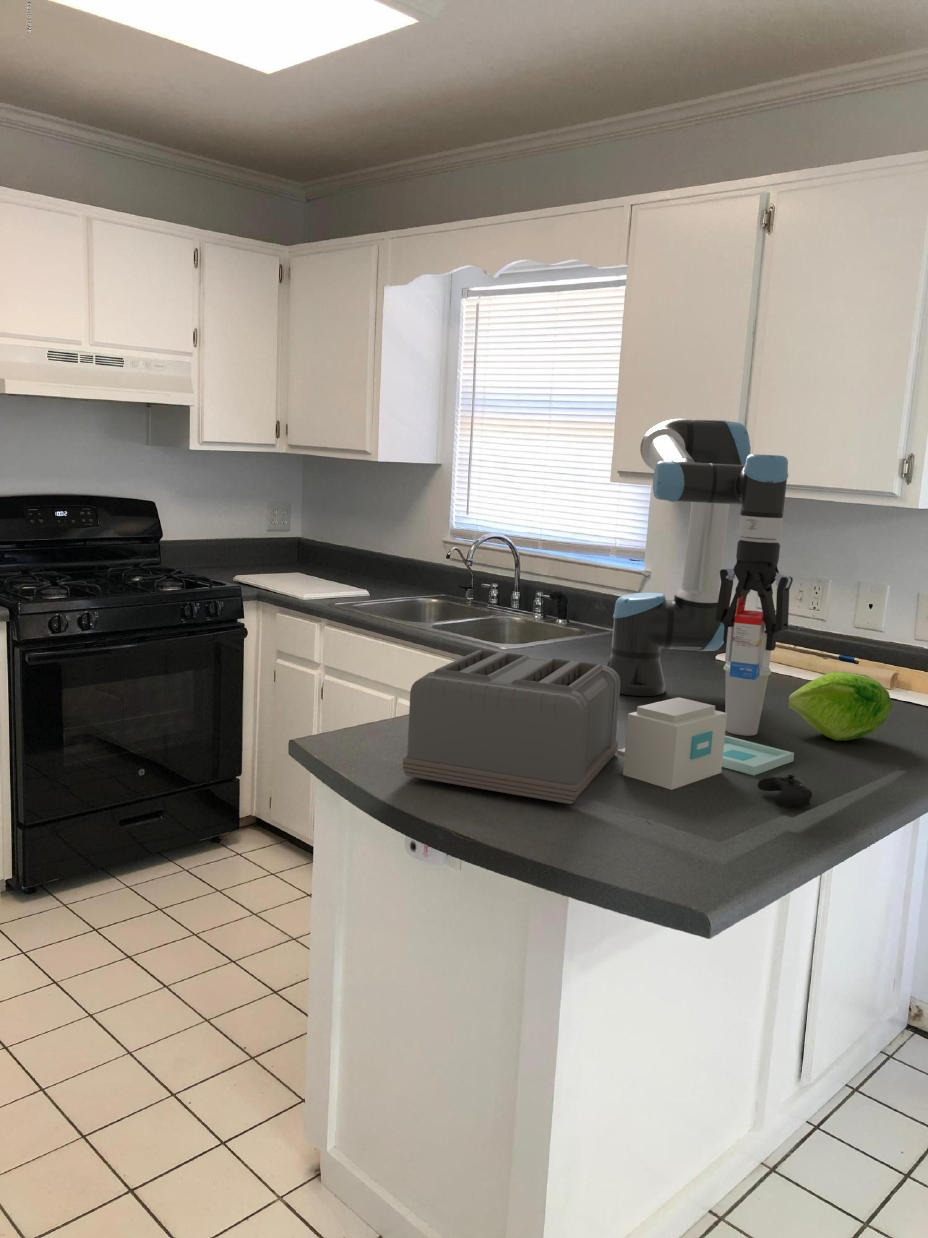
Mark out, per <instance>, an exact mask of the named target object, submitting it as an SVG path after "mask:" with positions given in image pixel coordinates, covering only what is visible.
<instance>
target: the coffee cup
mask: <svg viewBox="0 0 928 1238" xmlns="http://www.w3.org/2000/svg"><path fill="white" fill-rule="evenodd" d="M730 665H731V661H730V662H727V661H726V662H725V664H724V666H723V671H725V698H724V699H725V703H724V704H725V706H724V707H725V711H724V713H727V719H726V729H725V732H728V733H729V734H732V735H739V736H755V735H757V734H758V731H759V725H760V721H761V716H762V715H761V714H762V711H763V706H764V705H763V704H764V700H765V696H766V695H765V694H766V689H767V685H768V679H769V675H771V674H772V670H771V668H770V666H769V667H766V668H763V672H762V674H761V675H760V676H759V677H758V678H757V679H756V680H751V679H743V678H735V677H730Z"/></svg>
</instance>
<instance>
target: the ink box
mask: <svg viewBox="0 0 928 1238" xmlns="http://www.w3.org/2000/svg"><path fill="white" fill-rule="evenodd" d="M742 602H743V596H742V597H740V598H738V600H737V606H736V614H735V621H734V622H735V623H734V633H733V644H732V654H731V665H730V677H735V678H743V679H751V680H756V679H757V678H758V677H759V676H760V675H761V674H762V672H763V668H758V666H759V656H760V646H761V636H762V633H763V632H764V631H766V628H765V622H764V617H763V612H762V611H759V610H758V611H757V610H749V609H748V610H747V609H745V608H746V602H747V598H746V599H745V602H744V604H743V605H741V606H740V604H741V603H742Z"/></svg>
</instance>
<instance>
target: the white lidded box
mask: <svg viewBox="0 0 928 1238" xmlns="http://www.w3.org/2000/svg"><path fill="white" fill-rule="evenodd" d="M726 719H727V713H725V711H724V712H723V711H721V710H716V705H712V704H709V703H704V702H700V701H697V700H692V699H687V698H682V697H674V698H670V699H665V700H662V701H661V700H660V701H655V702H653V703H649V704H648V703H647V704H645V705H644V704H643V705H638V706H637V708H636V711H633V712H629V713H627V721H626V733H625V743H624V744H625V745H624V746H625V747H623V748H620V749H617V752H616V756H621V757H624V758H623V768H622V769H623V770H622V776H625V777H628V778H632V779H635V780H639V781H641V782H646V783H648V784H652V785H654V786H658V787H661V788H664V789H666V790H667V789H668V790H672V791H673V790H674V789H678V788H681V787H684V786H686V785H687V786H688V785H689V784H692V783H695V782H699V781H701V780H705V779H707V778H711V777H714V776H716V775H718V774H721V773H722V770H723V769H722V768H723V767H722V760H723V750H724V739H725V735H726V730H725V729H726Z"/></svg>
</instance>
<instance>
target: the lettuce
mask: <svg viewBox="0 0 928 1238" xmlns="http://www.w3.org/2000/svg"><path fill="white" fill-rule="evenodd" d="M788 708H789V709H790V710H791V711H794V712H796V713H797V714H799V715H800V716H801V717H802V719H804V720H805V721H806V722H807V723H808V724H809V725H811V727H813V728H814V729H816V730H817V732H820V733H821V734H822V735H823V736H825V737H827V738H829V739H831V740H833V741H835V742H837V741H838V742H839V741H840V742H841V741H851V740H854V739H860V738H863V737H864V736H867V735H868V734H871V733H873V732H874V731H875V730H877V728H879V727H880V726H881V725H882V724H883V723H885V722H886V720H887V719H888V716H889V714H890V712H891V710H892V708H893V703H892V699H891V696H890V692H889V691H888V690H887V689H886V688H885V687H884V686H883V685H882V684H881V683H880V682H879V681H877V680H875V679H874V678H872V677H870V676H867V675H866V674H865V675H864V674H859V673H854V672H848V671H847V672H846V671H832V672H829V673H825V674H824V675H821V676H820V677H816V678H814V679H812V680H811V681H809V682H807V683H805V684H804V685H802V686H801V687H799V688H798V689H797V690H795V691H794V692H792V693H791V694H790V695H789V697H788Z"/></svg>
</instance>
